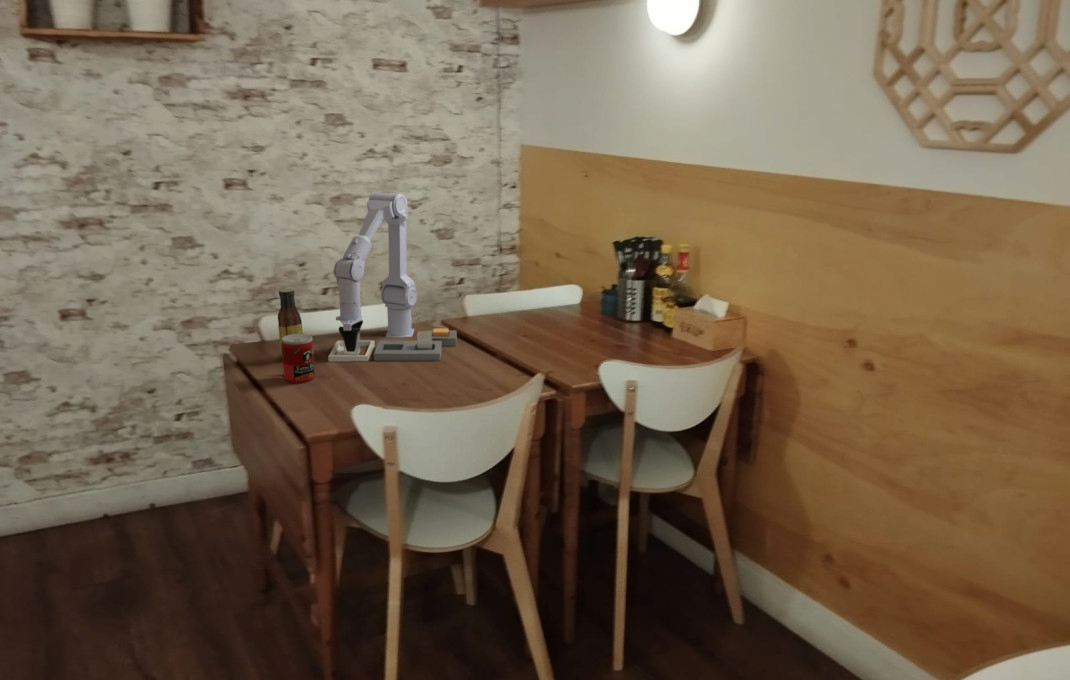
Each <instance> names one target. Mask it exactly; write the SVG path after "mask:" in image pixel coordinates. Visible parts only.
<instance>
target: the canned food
mask: <svg viewBox="0 0 1070 680" xmlns="http://www.w3.org/2000/svg"><path fill="white" fill-rule="evenodd" d="M281 343H282V356H281V357H282V358H283V359H282V370H283V372H282V373H283V379H284V380H285V381H286V382H287V383H290V384H304V383H309V382H311V381H313V380H314V378H315V373H316V372H315V357H314V355H315V354H314V340H313V336H312V335H309V334H306V333H305V334H304V333H303V334H292V335H287V336H284V337H282V340H281Z"/></svg>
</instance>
